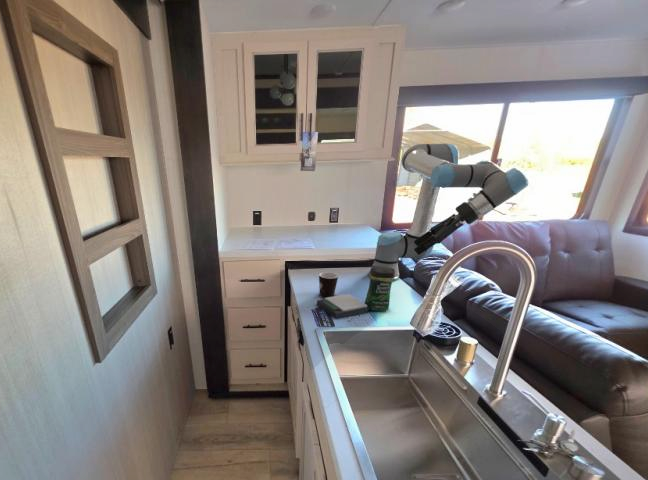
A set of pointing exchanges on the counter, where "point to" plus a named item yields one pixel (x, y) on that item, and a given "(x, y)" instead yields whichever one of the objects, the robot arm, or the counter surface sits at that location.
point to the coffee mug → (327, 284)
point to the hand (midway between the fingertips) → (415, 248)
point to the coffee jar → (379, 288)
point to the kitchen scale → (342, 306)
